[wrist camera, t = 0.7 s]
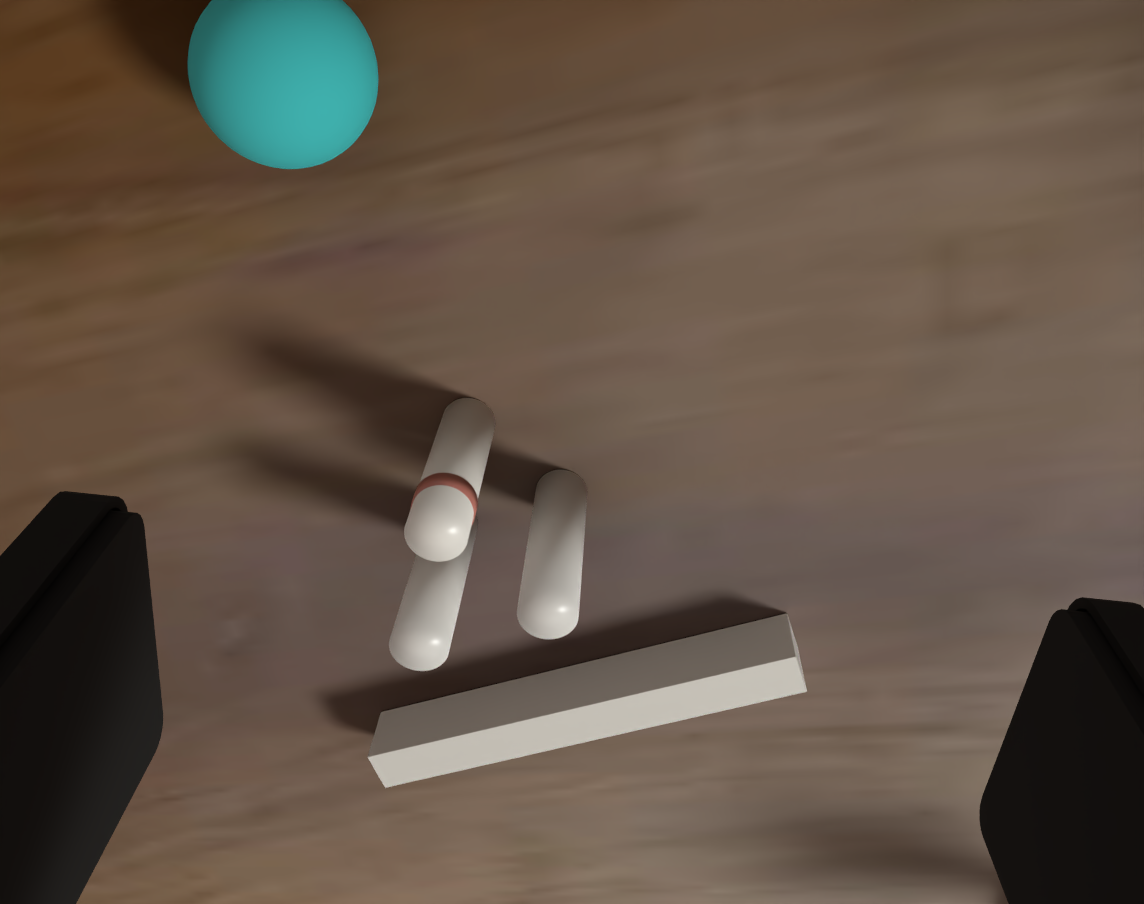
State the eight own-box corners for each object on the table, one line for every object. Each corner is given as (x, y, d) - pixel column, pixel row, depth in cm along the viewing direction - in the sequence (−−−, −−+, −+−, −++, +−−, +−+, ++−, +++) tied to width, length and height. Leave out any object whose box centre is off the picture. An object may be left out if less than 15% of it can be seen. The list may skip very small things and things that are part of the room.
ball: (253, -68, 36) (188, -55, 31) (419, 16, 37) (384, 42, 32) (203, 99, 39) (136, 137, 34) (359, 173, 40) (318, 221, 35)
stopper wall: (380, 712, 52) (367, 757, 50) (786, 613, 48) (795, 656, 46) (397, 741, 53) (385, 787, 51) (797, 647, 49) (807, 691, 47)
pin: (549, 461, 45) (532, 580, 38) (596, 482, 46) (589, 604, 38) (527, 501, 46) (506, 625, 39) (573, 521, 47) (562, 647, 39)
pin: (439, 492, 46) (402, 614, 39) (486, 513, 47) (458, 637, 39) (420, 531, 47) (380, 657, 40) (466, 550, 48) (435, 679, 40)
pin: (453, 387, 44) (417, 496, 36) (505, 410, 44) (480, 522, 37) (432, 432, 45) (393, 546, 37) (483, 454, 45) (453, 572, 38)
